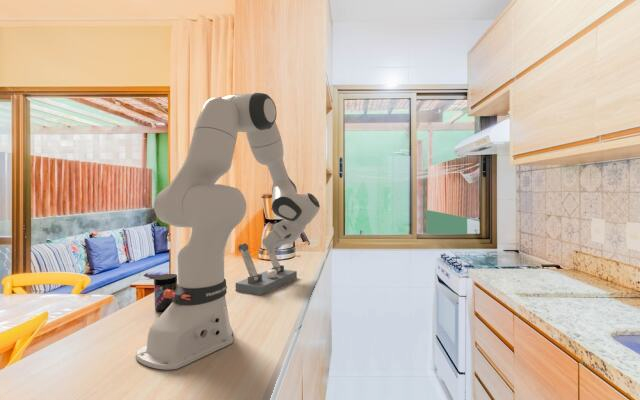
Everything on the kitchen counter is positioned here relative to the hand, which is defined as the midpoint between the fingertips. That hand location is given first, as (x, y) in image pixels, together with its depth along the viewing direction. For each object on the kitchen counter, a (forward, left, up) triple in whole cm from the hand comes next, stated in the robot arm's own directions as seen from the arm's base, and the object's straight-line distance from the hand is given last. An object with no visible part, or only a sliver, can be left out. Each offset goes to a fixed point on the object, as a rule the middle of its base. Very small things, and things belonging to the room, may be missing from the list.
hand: (272, 250), depth 134 cm
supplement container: (-42, +11, -12) cm, 46 cm away
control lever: (0, -3, -8) cm, 8 cm away
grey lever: (-15, -3, -8) cm, 17 cm away
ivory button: (-8, -5, -9) cm, 13 cm away
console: (-7, -3, -12) cm, 14 cm away
